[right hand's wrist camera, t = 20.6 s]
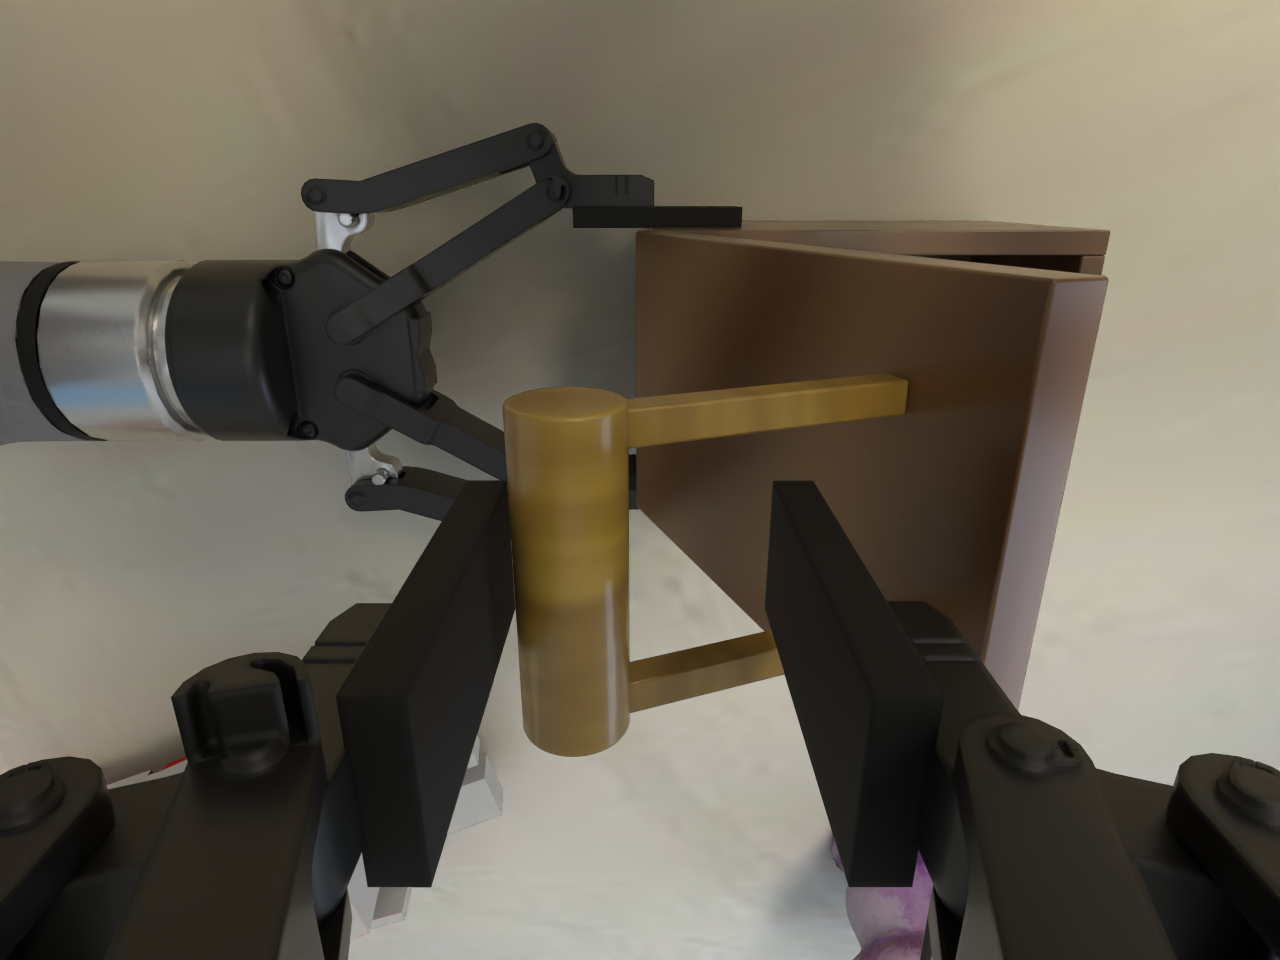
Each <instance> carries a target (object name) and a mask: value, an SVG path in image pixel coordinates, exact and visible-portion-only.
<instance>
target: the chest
mask: <svg viewBox="0 0 1280 960" xmlns="http://www.w3.org/2000/svg"><path fill="white" fill-rule="evenodd" d="M650 231H673V232H683V233H693V234H703V235H712V236H722V237H732V238H742V239H751V240H761V241H771V242H780V243H790V244H800V245H810V246H819V247H829V248H839V249H848V250H858V251H868V252H878V253H887V254H897V255H907V256H917V257H926V258H936V259H946V260H955V261H965V262H975V263H985V264H994V265H1004V266H1014V267H1024V268H1033V269H1043V270H1053V271H1062V272H1072V273H1082V274H1092V275H1101V273H1102V268H1103V264H1104V259H1105V257H1104V256H1103V255H1105V254H1106V250H1107V245H1108V240H1109V236H1110V231H1109V230H1098V229H1085V228H1072V227H1059V226H1045V225H1032V224H1019V223H1006V222H992V221H742V226H741V227H652V228H650Z"/></svg>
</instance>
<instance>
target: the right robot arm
mask: <svg viewBox="0 0 1280 960" xmlns="http://www.w3.org/2000/svg"><path fill="white" fill-rule="evenodd" d="M514 611H515V594H514V579H513V564H512V549H511V533H510V518H509V503H508V487H507V481H466V483H465V484H464V486H463V488H462V489H461V491H460V492H459V494H458V496H457V497H456V499H455V501H454V502H453V504H452V506H451V507H450V509H449V511H448V512H447V514H446V515H445V517H444V519H443V520H442V522H441V524H440V525H439V527H438V529H437V530H436V532H435V534H434V535H433V537H432V539H431V540H430V542H429V543H428V545H427V547H426V548H425V550H424V552H423V553H422V555H421V557H420V558H419V560H418V562H417V563H416V565H415V566H414V568H413V570H412V571H411V573H410V575H409V576H408V578H407V580H406V581H405V583H404V585H403V586H402V588H401V589H400V591H399V593H398V594H397V596H396V598H395V599H394V601H393V603H357V604H355V605H354V606H352V607H351V608H349V609H348V610H346V611H345V612H343V613H342V614H340V615H339V616H337V617H336V618H334V619H333V620H331V621H330V622H329V623H328V625H327V626H326V628H325V629H324V630H323V632H322V633H321V634H320V636H319V637H318V639H317V640H316V641H315V646H312V647H311V648H310V649H309V651H308V652H307V654H306V655H305V656H304V658H303V659H302V660H303V661H302V660H300V659H299V658H298V657H297V656H293V655H288V654H284V653H280V652H266V653H252V654H247V655H243V656H238V657H234V658H229V659H227V660H224V661H222V662H219V663H217V664H214V665H212V666H209V667H207V668H205V669H203V670H201V671H200V672H198V673H197V674H195V675H194V676H192V677H191V678H189V679H188V680H186V681H185V682H183V683H182V685H181V686H180V687H179V688H178V689H177V691H176V692H175V693H174V694H173V695H172V697H171V699H172V703H173V707H174V711H175V715H176V719H177V722H178V726H179V730H180V734H181V738H182V742H183V746H184V750H185V753H186V757H187V761H188V763H187V765H186V768H185V770H184V772H181V773H178V774H174V775H171V776H167V777H163V778H158V779H153V780H149V781H144V782H140V783H135V784H130V785H126V786H121V787H116V788H112V789H107V786H106V783H105V779H104V776H103V773H102V770H101V768H100V767H98V766H97V765H96V764H95V763H94V762H92V761H91V760H90V759H83V758H76V757H70V756H69V757H61V758H53V759H45V760H40V761H37V762H33V763H28V765H22V766H19V767H17V768H14V769H11V770H9V771H7V772H6V773H4V774H2V775H0V960H348V953H349V944H350V935H351V925H352V912H351V905H350V899H349V893H348V887H347V886H348V884H349V882H350V879H351V877H352V875H353V872H354V870H355V868H356V865H357V863H358V860H359V858H360V856H361V853H362V857H363V863H364V869H365V875H366V880H367V886H368V887H431V886H432V882H433V879H434V876H435V872H436V869H437V866H438V862H439V859H440V856H441V853H442V849H443V846H444V843H445V839H446V836H447V833H448V829H449V826H450V823H451V819H452V816H453V813H454V809H455V806H456V803H457V800H458V796H459V793H460V790H461V786H462V783H463V780H464V776H465V773H466V770H467V766H468V763H469V760H470V757H471V753H472V750H473V747H474V743H475V740H476V737H477V733H478V730H479V727H480V723H481V720H482V717H483V714H484V710H485V707H486V704H487V700H488V697H489V694H490V690H491V687H492V684H493V680H494V677H495V674H496V671H497V667H498V664H499V661H500V657H501V654H502V651H503V647H504V644H505V641H506V637H507V634H508V631H509V628H510V624H511V621H512V618H513V614H514ZM765 611H766V614H767V618H768V621H769V624H770V628H771V631H772V634H773V637H774V641H775V644H776V647H777V651H778V654H779V657H780V661H781V664H782V667H783V671H784V674H785V677H786V680H787V684H788V687H789V690H790V694H791V697H792V700H793V704H794V707H795V710H796V714H797V717H798V720H799V723H800V727H801V730H802V733H803V737H804V740H805V743H806V747H807V750H808V753H809V757H810V760H811V763H812V766H813V770H814V773H815V776H816V780H817V783H818V786H819V790H820V793H821V796H822V800H823V803H824V806H825V809H826V813H827V816H828V819H829V823H830V826H831V829H832V833H833V836H834V839H835V843H836V846H837V849H838V853H839V856H840V859H841V862H842V866H843V869H844V872H845V876H846V879H847V882H848V886H849V887H912V886H913V880H914V875H915V869H916V863H917V857H918V851H919V852H920V854H921V857H922V859H923V861H924V864H925V866H926V868H927V871H928V873H929V875H930V878H931V880H932V882H933V887H932V893H931V899H930V904H929V910H928V915H927V921H926V926H925V932H924V937H923V943H922V949H921V956H920V960H931V955H932V960H1280V771H1278V770H1276V769H1275V768H1273V767H1271V766H1268V765H1266V764H1263V763H1260V762H1255V761H1253V760H1250V759H1246V758H1242V757H1239V756H1231V755H1223V754H1215V753H1209V754H1202V755H1196V756H1191V757H1190V758H1188V759H1187V760H1186V761H1185V762H1183V763H1182V764H1181V765H1180V766H1179V770H1178V773H1177V776H1176V779H1175V783H1174V786H1170V785H1165V784H1161V783H1156V782H1151V781H1147V780H1142V779H1137V778H1133V777H1128V776H1123V775H1119V774H1114V773H1111V772H1107V771H1103V770H1100V769H1096V768H1095V766H1094V764H1093V762H1092V760H1091V759H1090V757H1089V756H1088V755H1087V753H1086V752H1085V750H1084V749H1083V748H1082V746H1081V745H1080V744H1079V743H1077V742H1076V741H1075V740H1073V739H1072V738H1071V737H1069V736H1068V735H1067V734H1065V733H1064V732H1063V731H1062V730H1060V729H1057V728H1055V727H1053V726H1051V725H1049V724H1047V723H1045V722H1042V721H1040V720H1038V719H1035V718H1031V717H1027V716H1023V715H1021V714H1020V713H1019V712H1018V710H1017V709H1016V708H1015V706H1014V705H1013V704H1012V702H1011V701H1010V699H1009V698H1008V697H1007V695H1006V694H1005V693H1004V691H1003V690H1002V689H1001V687H1000V686H999V684H998V683H997V682H996V680H995V679H994V678H993V676H992V675H991V674H990V672H989V671H988V669H987V668H986V667H985V665H984V664H983V663H982V661H978V656H977V654H976V653H975V652H974V650H973V649H972V648H971V646H970V645H969V644H968V643H966V642H965V638H964V637H963V635H962V634H961V633H960V631H959V630H958V629H957V627H956V626H955V624H954V623H953V622H952V620H951V619H950V618H948V617H947V616H945V615H944V614H942V613H941V612H939V611H938V610H936V609H935V608H933V607H932V606H930V605H929V604H927V603H926V602H924V601H886V599H885V598H884V596H883V594H882V593H881V591H880V589H879V588H878V586H877V585H876V583H875V581H874V580H873V578H872V576H871V575H870V573H869V571H868V570H867V568H866V566H865V565H864V563H863V562H862V560H861V558H860V557H859V555H858V553H857V552H856V550H855V548H854V547H853V545H852V543H851V542H850V540H849V539H848V537H847V535H846V534H845V532H844V530H843V529H842V527H841V525H840V524H839V522H838V520H837V519H836V517H835V515H834V514H833V512H832V511H831V509H830V507H829V506H828V504H827V502H826V501H825V499H824V497H823V496H822V494H821V492H820V491H819V489H818V488H817V486H816V484H815V483H814V481H773V487H772V503H771V518H770V533H769V549H768V564H767V579H766V594H765Z"/></svg>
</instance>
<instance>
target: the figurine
mask: <svg viewBox="0 0 1280 960" xmlns="http://www.w3.org/2000/svg"><path fill="white" fill-rule="evenodd" d="M833 842H834V843H833V847H832V855H833V856H834V857H833V859H834V860H835V861H836V865H837V866H838V867H839V868H840V869H841V870H842V871H843V872H844V869H843V866H842V862H841V859H840V856H839V853H838V849H837V846H836V843H835V839H834V841H833ZM844 873H845V872H844ZM932 887H933V882H932V880H931V878H930V875H929V873H928V871H927V868H926V866H925V864H924V861H923V859H922V857H921V854H920V852H919V851H918V857H917V863H916V869H915V875H914V880H913V886H912V887H849V886H848V887H847V892H846V909H847V914H848V917H849V920H850V923H851V926H852V928H853V930H854V932H855V935H856V937H857V939H858V941H859V943H860V945H861V951H860V953H859V954H858V955H857V956H856V957H855V958H854V959H853V960H920V956H921V949H922V943H923V937H924V932H925V926H926V921H927V915H928V910H929V904H930V899H931V893H932ZM931 960H932V955H931Z"/></svg>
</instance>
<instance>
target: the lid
mask: <svg viewBox="0 0 1280 960" xmlns="http://www.w3.org/2000/svg"><path fill="white" fill-rule="evenodd" d="M1107 285H1108V278H1107V277H1105V276H1101V275H1092V274H1082V273H1072V272H1062V271H1053V270H1043V269H1033V268H1024V267H1014V266H1004V265H994V264H985V263H975V262H965V261H955V260H946V259H936V258H926V257H917V256H907V255H897V254H887V253H878V252H868V251H858V250H848V249H839V248H829V247H819V246H810V245H800V244H790V243H780V242H771V241H761V240H751V239H742V238H732V237H722V236H712V235H703V234H693V233H683V232H673V231H637V232H636V398H631V399H625V398H624V397H623V396H621V395H620V394H617V393H614V392H611V391H607V390H603V389H596V388H587V387H554V388H543V389H537V390H531V391H527V392H523V393H520V394H517V395H514V396H512V397H510V398H508V399H507V400H506V401H505V402H504V405H503V420H504V436H505V451H506V466H507V482H508V497H509V512H510V528H511V543H512V559H513V574H514V589H515V605H516V620H517V635H518V651H519V666H520V681H521V697H522V712H523V727H524V731H525V733H526V735H527V737H528V738H529V740H530V741H531V742H532V743H533V744H534V745H535V746H537V747H538V748H540V749H541V750H543V751H545V752H548V753H551V754H554V755H559V756H567V757H579V756H587V755H591V754H595V753H598V752H601V751H603V750H606V749H608V748H609V747H611V746H613V745H614V744H615V743H617V742H618V741H619V740H620V739H621V738H622V736H623V735H624V734H625V732H626V730H627V728H628V726H629V722H630V713H632V712H636V711H640V710H644V709H648V708H652V707H656V706H660V705H664V704H668V703H672V702H676V701H680V700H684V699H688V698H692V697H696V696H700V695H704V694H708V693H712V692H716V691H720V690H724V689H728V688H732V687H736V686H740V685H744V684H748V683H752V682H756V681H760V680H764V679H768V678H772V677H776V676H780V675H784V671H783V667H782V664H781V661H780V657H779V654H778V651H777V647H776V644H775V641H774V637H773V634H772V631H771V628H770V624H769V621H768V618H767V614H766V611H765V594H766V579H767V564H768V549H769V533H770V518H771V503H772V487H773V481H814V483H815V484H816V486H817V488H818V489H819V491H820V492H821V494H822V496H823V497H824V499H825V501H826V502H827V504H828V506H829V507H830V509H831V511H832V512H833V514H834V515H835V517H836V519H837V520H838V522H839V524H840V525H841V527H842V529H843V530H844V532H845V534H846V535H847V537H848V539H849V540H850V542H851V543H852V545H853V547H854V548H855V550H856V552H857V553H858V555H859V557H860V558H861V560H862V562H863V563H864V565H865V566H866V568H867V570H868V571H869V573H870V575H871V576H872V578H873V580H874V581H875V583H876V585H877V586H878V588H879V589H880V591H881V593H882V594H883V596H884V598H885V599H886V601H924V602H926V603H927V604H929V605H930V606H932V607H933V608H935V609H936V610H938V611H939V612H941V613H942V614H944V615H945V616H947V617H948V618H950V619H951V620H952V622H953V623H954V624H955V626H956V627H957V629H958V630H959V631H960V633H961V634H962V635H963V637H964V638H965V642H966V643H968V644H969V645H970V646H971V648H972V649H973V650H974V652H975V653H976V654H977V656H978V661H982V663H983V664H984V665H985V667H986V668H987V669H988V671H989V672H990V674H991V675H992V676H993V678H994V679H995V680H996V682H997V683H998V684H999V686H1000V687H1001V689H1002V690H1003V691H1004V693H1005V694H1006V695H1007V697H1008V698H1009V699H1010V701H1011V702H1012V704H1013V705H1014V706H1015V708H1016V709H1017V710H1018V708H1019V703H1020V698H1021V694H1022V689H1023V684H1024V679H1025V675H1026V670H1027V665H1028V660H1029V656H1030V651H1031V646H1032V641H1033V637H1034V632H1035V627H1036V622H1037V618H1038V613H1039V608H1040V603H1041V599H1042V594H1043V589H1044V584H1045V580H1046V575H1047V570H1048V565H1049V561H1050V556H1051V551H1052V546H1053V542H1054V537H1055V532H1056V527H1057V523H1058V518H1059V513H1060V508H1061V504H1062V499H1063V494H1064V489H1065V485H1066V480H1067V475H1068V470H1069V466H1070V461H1071V456H1072V451H1073V447H1074V442H1075V437H1076V432H1077V428H1078V423H1079V418H1080V413H1081V409H1082V404H1083V399H1084V394H1085V390H1086V385H1087V380H1088V375H1089V371H1090V366H1091V361H1092V356H1093V352H1094V347H1095V342H1096V337H1097V333H1098V328H1099V323H1100V318H1101V314H1102V309H1103V304H1104V299H1105V295H1106V290H1107ZM628 448H636V505H637V507H638V508H639V509H640V510H641V511H642V512H643V513H644V514H645V515H646V516H647V517H648V518H649V519H650V520H651V521H652V522H653V523H654V524H655V525H656V526H657V527H658V528H659V529H661V530H662V531H663V532H664V533H665V534H666V535H667V536H668V537H669V538H670V539H671V540H672V541H673V542H674V543H675V544H676V545H677V546H678V547H679V548H680V549H681V550H682V551H683V552H684V553H685V554H686V555H687V556H688V557H689V558H690V559H691V560H692V561H693V562H694V563H695V564H696V565H697V566H698V567H699V568H700V569H701V570H702V571H703V572H704V573H705V574H706V575H707V576H708V577H710V578H711V579H712V580H713V581H714V582H715V583H716V584H717V585H718V586H719V587H720V588H721V589H722V590H723V591H724V592H725V593H726V594H727V595H728V596H729V597H730V598H731V599H732V600H733V601H734V602H735V603H736V604H737V605H738V606H739V607H740V608H741V609H742V610H743V611H744V612H745V613H746V614H747V615H748V616H749V617H750V618H751V619H752V620H753V621H754V622H755V623H756V624H758V625H759V626H760V627H761V628H762V629H763V630H764V631H765V632H761V633H757V634H752V635H748V636H743V637H739V638H735V639H730V640H726V641H721V642H717V643H712V644H708V645H704V646H699V647H695V648H690V649H686V650H681V651H677V652H673V653H668V654H664V655H659V656H655V657H651V658H646V659H642V660H637V661H633V662H630V652H629V465H628Z"/></svg>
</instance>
